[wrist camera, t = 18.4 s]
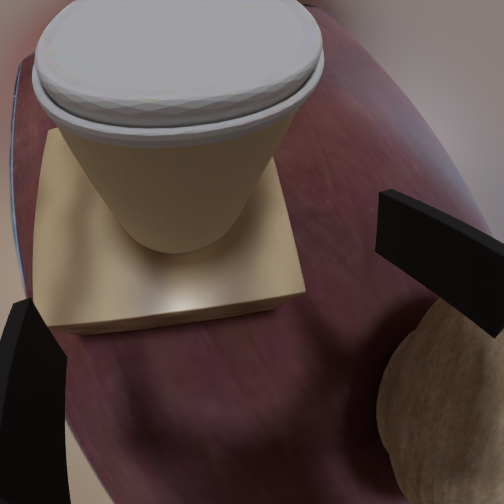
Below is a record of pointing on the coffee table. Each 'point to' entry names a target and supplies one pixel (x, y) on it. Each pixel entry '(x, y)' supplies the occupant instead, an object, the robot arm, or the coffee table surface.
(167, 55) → the coffee cup
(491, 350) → the vase
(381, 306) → the coffee table surface
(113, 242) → the wooden stand
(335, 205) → the coffee table surface
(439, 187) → the coffee table surface
